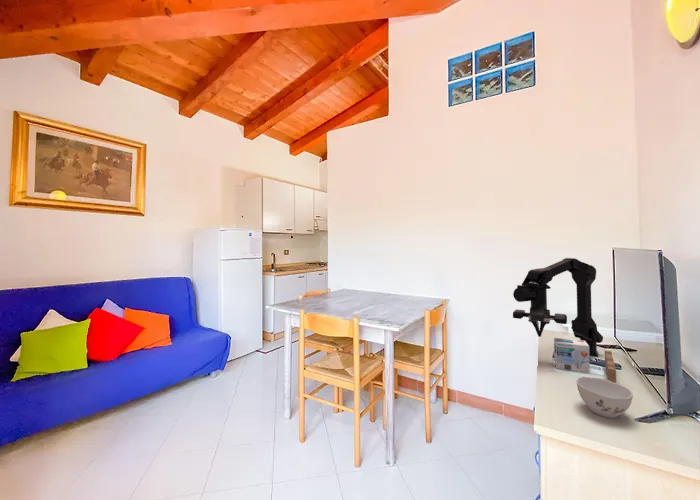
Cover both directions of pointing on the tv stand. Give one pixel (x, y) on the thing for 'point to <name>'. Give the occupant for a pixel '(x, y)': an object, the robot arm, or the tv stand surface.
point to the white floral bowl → (604, 396)
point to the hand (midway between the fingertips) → (539, 336)
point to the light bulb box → (571, 355)
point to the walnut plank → (610, 367)
